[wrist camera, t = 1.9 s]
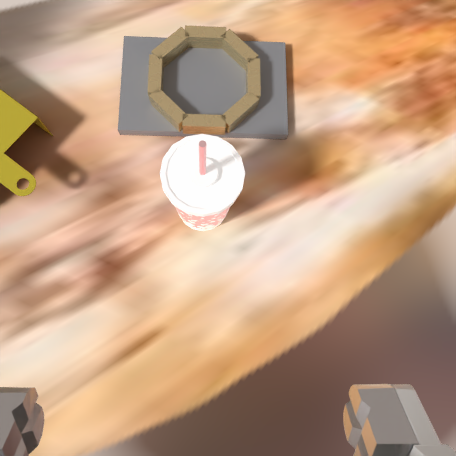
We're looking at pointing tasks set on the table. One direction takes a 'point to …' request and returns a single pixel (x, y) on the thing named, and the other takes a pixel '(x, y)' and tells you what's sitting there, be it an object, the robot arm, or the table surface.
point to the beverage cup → (202, 179)
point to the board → (203, 89)
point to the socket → (204, 39)
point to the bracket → (7, 134)
